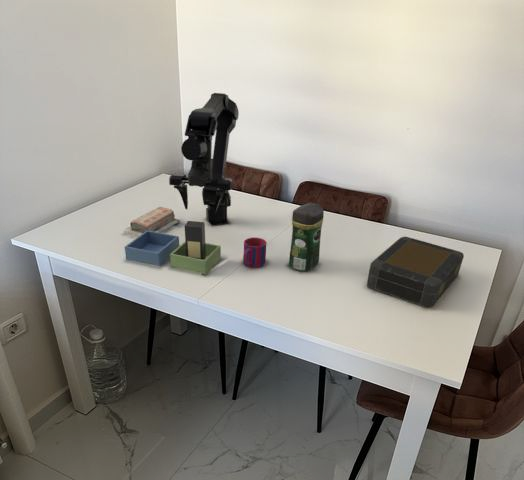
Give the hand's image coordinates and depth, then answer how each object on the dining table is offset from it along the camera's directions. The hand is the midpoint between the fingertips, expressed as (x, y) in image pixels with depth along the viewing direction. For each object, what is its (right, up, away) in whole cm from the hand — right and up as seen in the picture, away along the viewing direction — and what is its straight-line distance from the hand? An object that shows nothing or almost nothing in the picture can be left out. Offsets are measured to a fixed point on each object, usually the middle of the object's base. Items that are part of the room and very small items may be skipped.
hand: (200, 210), depth 155 cm
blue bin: (-14, -15, -2) cm, 20 cm away
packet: (-1, -17, -6) cm, 18 cm away
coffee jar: (+32, -18, -4) cm, 37 cm away
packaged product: (-18, -3, +14) cm, 23 cm away
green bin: (-1, -18, -6) cm, 19 cm away
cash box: (+63, -24, -9) cm, 68 cm away
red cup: (+16, -18, -5) cm, 25 cm away
